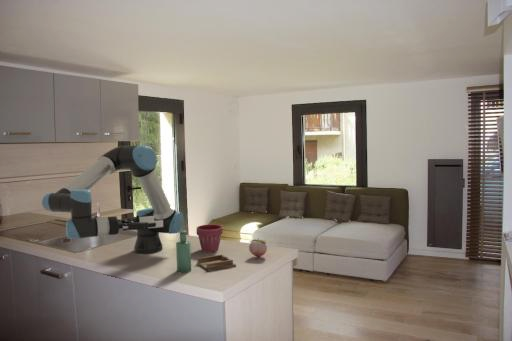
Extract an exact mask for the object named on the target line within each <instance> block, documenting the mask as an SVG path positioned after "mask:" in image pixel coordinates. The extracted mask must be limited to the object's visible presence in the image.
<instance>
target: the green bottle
mask: <svg viewBox="0 0 512 341" xmlns="http://www.w3.org/2000/svg"><path fill="white" fill-rule="evenodd" d="M187 232H188V230H185V229H184V230H180V231H179V232H178V234H179V241H177V242H176V243H175V245H176V246H175V247H176V248H175V251H176V254H175V255H176V272H177V273H179V274H185V273H186V274H187V273H190V272H191V271H192V255H191V250H192V249H191V248H192V247H191V241H188V240H187Z"/></svg>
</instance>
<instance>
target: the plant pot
mask: <svg viewBox="0 0 512 341" xmlns="http://www.w3.org/2000/svg"><path fill="white" fill-rule="evenodd" d="M223 230H224V229H223V226H222V225H221V224H220V225H219V224H211V223H210V224H201V225H199V226H197V227H196V235H197V236H198V239H199V244H200V248H201V251H202V252H204V251H205V252H206V253H213V251H214V252H217V251H218V250H219V247H220V243H221V237H222V235H223V232H224V231H223ZM205 252H204V253H205Z"/></svg>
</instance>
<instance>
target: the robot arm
mask: <svg viewBox="0 0 512 341" xmlns="http://www.w3.org/2000/svg"><path fill="white" fill-rule="evenodd" d="M157 158H158V157H157V154H156V152H155V150H154V149H153V148H152V147H151V146H148V145H143V144H139V145H120V146H119V145H118V146H117V147H114V148H112V149H110V150H108V151H107V152H105V153H104V154H102V155H101V156H99V157H98V159H97V161H96V162H95V163H93V164H92V165H91V166H89V168H87V169H86V170H85V171H83V172H82V173H80V174H79V175H78V176H76V177H75V178H74V179H72V180H71V181H69V182H68V183H67V184H66V185H64V186H63V187H62V188H60V189H59V190H57V191H56V192H49V193H46V194H45V195H44V196H43V198H42V199H41V200H42V201H41V205H42V207H43V208H44V210H45V211H48V212H53V213H70V214H71V215H70V216H71V219H69V220H66V222H65V233H66V238H67V239H69V240H71V239H72V240H73V239H87V238H94V237H99V238H102V237H104V236H107V235H108V236H113V235H118V234H119V232H120V231H119V230H122V231H136V240H135V243H134V247H133V252H134V253H137V254H143V255H144V254H154V253H158V252H161V251H162V250H163V249H164V248H163V243H162V241H161V237H160V235H159V234H168V235H169V234H170V235H171V234H177V233H178V234H179V231H181V229H182V227H183V225H184V215H183V213H182V212H180V211H176V209H175V207H174V205H172V204H170V202H169V201H168V197H167V196H166V193H165V191H164V190H163V187H162V184H161V183H160V180H159V179H158V176H157V174H156V172H155V171H156V167H157V163H158V162H157V161H158V160H157ZM121 170H123V171H124V170H127V171H128V170H129V171H130V173H131V175H132V176H133V177H134V178H135V179H138V182H139V183H140V184H139V185H141V187H142V190H143V192H144V193H145V196H146V198H147V199H148V202H149V204H150V206H151V207H148V208H143V209H140V210H137V211H136V215H135V216H132V217H126V218H121V219H119V218H118V216H115V215H114V216H108V217H106V216H102V217H92V216H93V214H92V211H93V210H92V205H93V204H92V199H93V198H92V193H91V190H90V189H92V188H93V187H94V186H95V185H96V184H98V183H100V181H102V180H103V179H104V178H106V177H107V176H108V175H112V174H114V173H115V172H118V171H121Z"/></svg>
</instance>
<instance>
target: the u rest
mask: <svg viewBox="0 0 512 341" xmlns="http://www.w3.org/2000/svg"><path fill="white" fill-rule="evenodd" d="M196 264H197V265H198V266H199V267H200V268H202V269H204V270H205V271H207V272H214V271H218V270H223V269H225V270H226V269H231V268H236V267H237V264H236V263H234V259H232V258H230V257H228V256H226V255H224V254H223V253H221V254H217V255H216V254H215V255H209V256H203V257H197V262H196Z"/></svg>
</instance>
